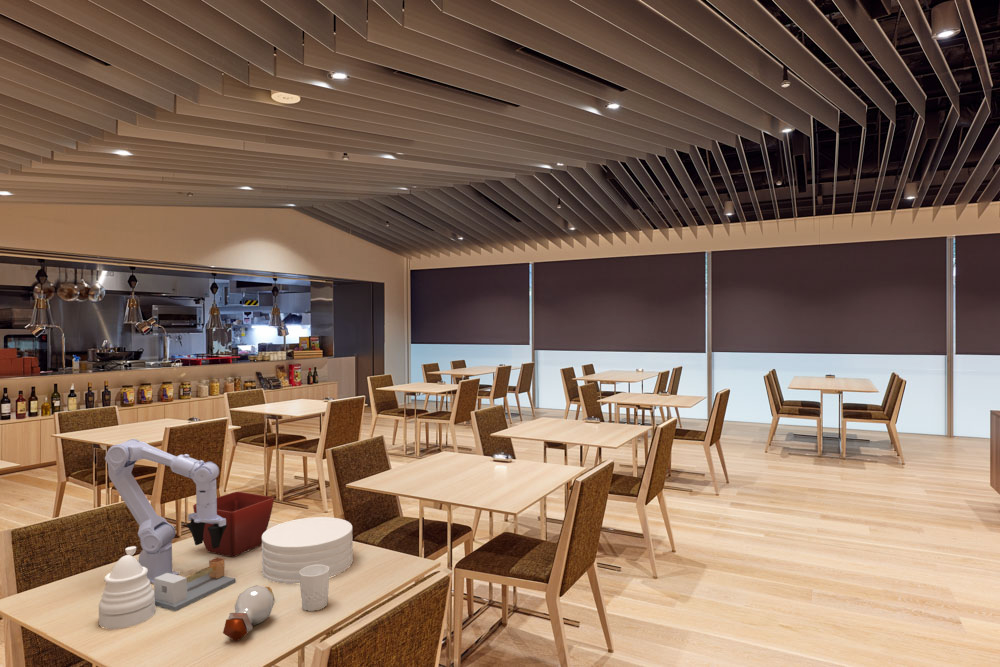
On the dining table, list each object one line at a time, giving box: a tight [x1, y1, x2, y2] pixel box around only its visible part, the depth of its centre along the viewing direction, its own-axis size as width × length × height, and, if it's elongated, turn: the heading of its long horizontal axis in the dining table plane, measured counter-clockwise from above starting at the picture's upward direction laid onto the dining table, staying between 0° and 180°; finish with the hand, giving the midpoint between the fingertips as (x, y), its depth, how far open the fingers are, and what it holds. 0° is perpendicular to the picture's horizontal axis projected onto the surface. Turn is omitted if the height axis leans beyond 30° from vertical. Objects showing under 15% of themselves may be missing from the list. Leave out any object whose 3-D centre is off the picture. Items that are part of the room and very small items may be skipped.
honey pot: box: [98, 545, 156, 630], centre depth 161 cm, size 13×13×18 cm
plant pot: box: [192, 491, 275, 558], centre depth 210 cm, size 19×19×17 cm
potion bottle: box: [222, 584, 275, 642], centre depth 155 cm, size 9×10×15 cm
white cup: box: [299, 565, 330, 612], centre depth 167 cm, size 8×8×10 cm
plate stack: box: [261, 516, 354, 585], centre depth 195 cm, size 28×28×12 cm
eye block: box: [153, 573, 236, 612], centre depth 176 cm, size 12×20×7 cm, turn 155°
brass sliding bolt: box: [185, 557, 226, 583], centre depth 179 cm, size 3×12×5 cm, turn 155°
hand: (207, 545), depth 187 cm, fingers open, 7 cm apart
